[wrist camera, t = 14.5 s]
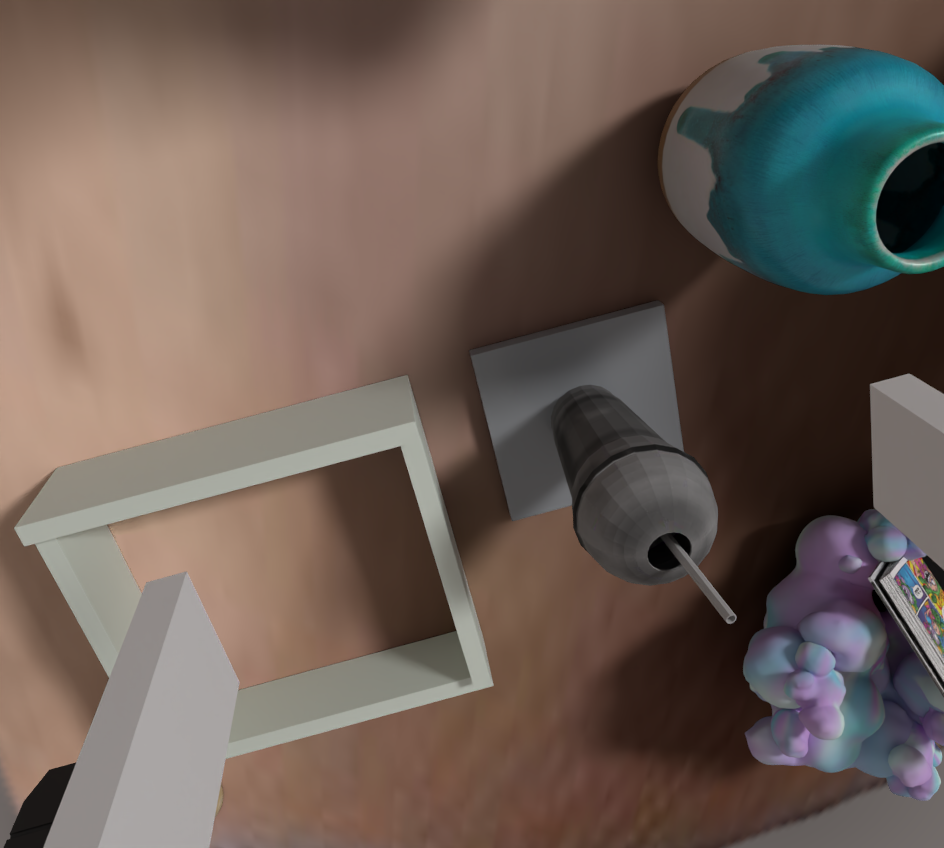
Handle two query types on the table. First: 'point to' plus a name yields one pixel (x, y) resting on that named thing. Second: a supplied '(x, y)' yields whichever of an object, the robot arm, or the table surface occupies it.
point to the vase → (811, 166)
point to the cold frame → (242, 465)
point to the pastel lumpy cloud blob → (853, 657)
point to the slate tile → (555, 373)
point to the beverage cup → (634, 493)
